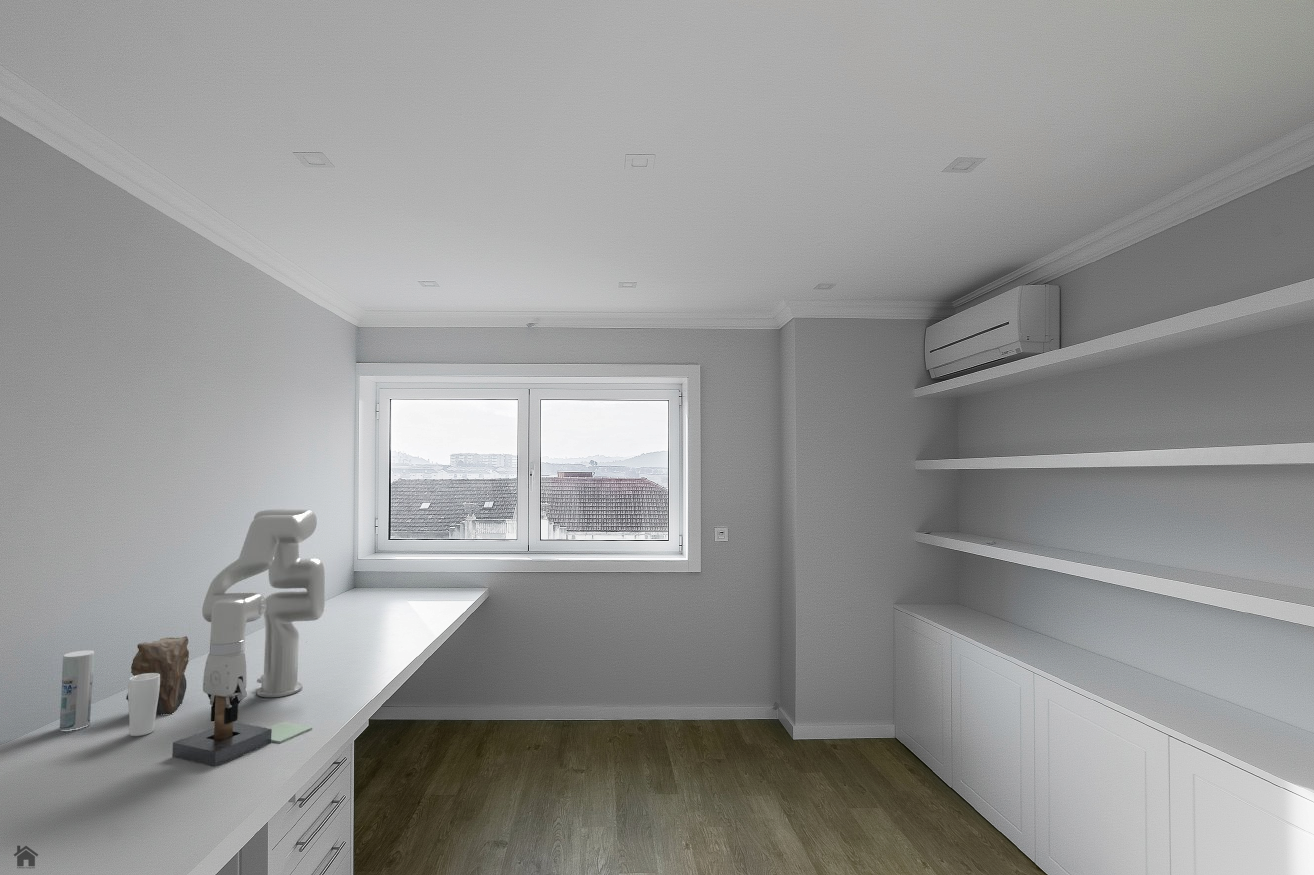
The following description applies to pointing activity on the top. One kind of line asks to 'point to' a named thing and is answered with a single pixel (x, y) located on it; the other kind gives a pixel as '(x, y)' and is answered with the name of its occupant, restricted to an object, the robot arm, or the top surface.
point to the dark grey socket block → (221, 744)
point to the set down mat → (286, 731)
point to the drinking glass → (143, 703)
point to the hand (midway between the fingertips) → (224, 720)
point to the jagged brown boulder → (164, 669)
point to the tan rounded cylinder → (221, 720)
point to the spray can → (76, 689)
